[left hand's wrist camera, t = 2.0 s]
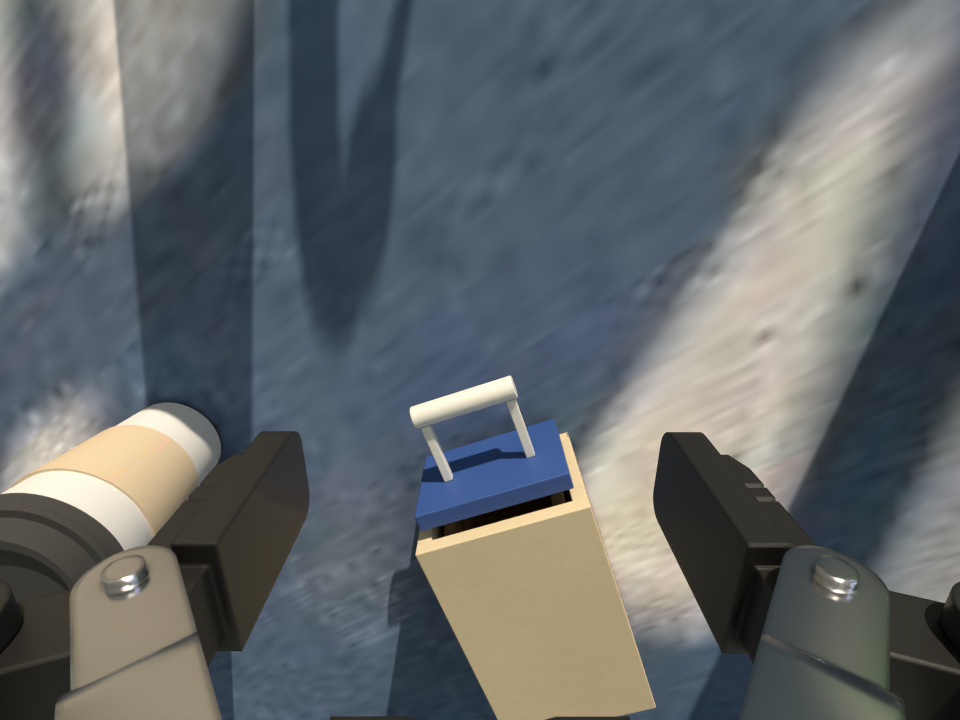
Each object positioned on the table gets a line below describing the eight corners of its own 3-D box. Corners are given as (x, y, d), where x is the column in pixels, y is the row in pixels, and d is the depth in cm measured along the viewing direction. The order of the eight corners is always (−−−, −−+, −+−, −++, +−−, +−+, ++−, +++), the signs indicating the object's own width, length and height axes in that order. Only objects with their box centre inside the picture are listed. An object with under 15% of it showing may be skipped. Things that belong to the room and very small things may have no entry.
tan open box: (428, 472, 40) (414, 555, 32) (567, 431, 39) (590, 506, 30) (503, 636, 46) (507, 741, 38) (624, 606, 45) (656, 708, 37)
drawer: (395, 390, 36) (376, 440, 30) (530, 347, 35) (541, 389, 29) (498, 618, 44) (501, 697, 38) (611, 590, 43) (634, 666, 37)
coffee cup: (102, 460, 40) (-106, 625, 26) (134, 367, 37) (-80, 496, 23) (213, 508, 41) (75, 687, 27) (253, 423, 38) (121, 574, 24)
